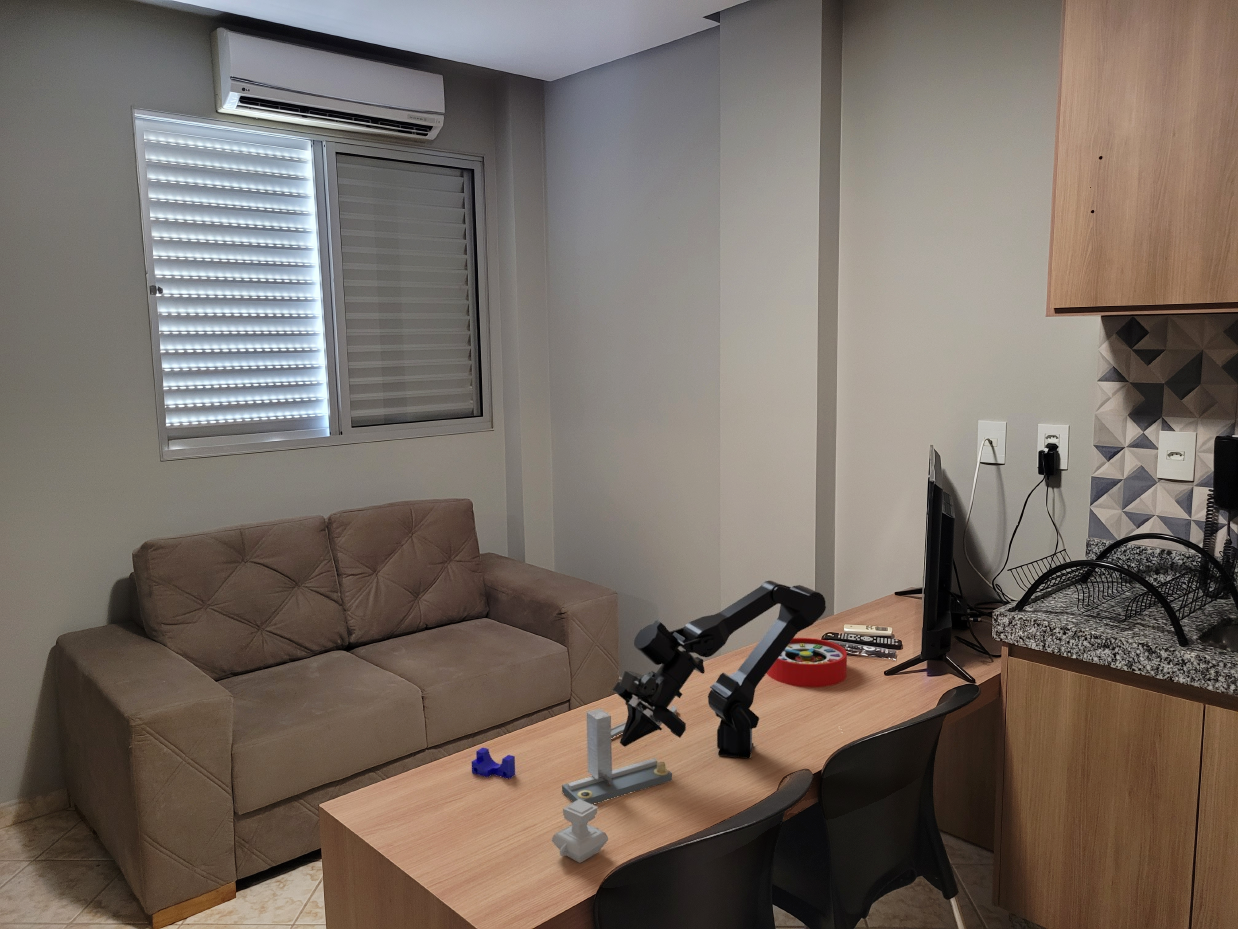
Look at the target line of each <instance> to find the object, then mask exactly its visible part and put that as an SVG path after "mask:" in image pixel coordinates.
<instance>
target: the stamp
mask: <svg viewBox="0 0 1238 929" xmlns="http://www.w3.org/2000/svg"><path fill="white" fill-rule="evenodd" d="M598 809H599V806H598V805H597V806H596V805H595V804H594V805H592V804H590V803H587V802H585V801H583V800H580V799H578V800H576V801H575V802H571V803H570V804H568V805H567V806H565V807H563V808H562V815H563V818H564V820H566V821H567V822H569V823H571V825H568V826H566V827H565V828H562V830H559V831H558V832H555V833H554V834H553V835H552V839H551V842H552V843H553V844H554V845H555V847H556V848H558V850H559V855H560V856H561V857H565V856H567V857H569V858H570V859H572V860H574V861H575V862H577V863H579V864H581V863H583V862H584V861H586V860H587V859H590V858H591V857H593V856H594V855H596V854H598V853H599V852H600V851H601V850H602V848H603V847H604V846H605V845H606V844H607V842H608V841H609V837H608V834H607V833H606V831H605V832H604V831H603V830H600V828H598V827H597V826H593V825H591V824H589V822H591V821H592V820H594V819H595V818H596V816H597V815H598Z"/></svg>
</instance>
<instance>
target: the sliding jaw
mask: <svg viewBox="0 0 1238 929" xmlns="http://www.w3.org/2000/svg"><path fill="white" fill-rule="evenodd" d="M611 728H612V715H611V714H609V713H608V712H606V711H605V710H604V709H602V708H596V709H592V710H588V711H586V743H587V744H586V747H587V748H586V749H587V751H586V752H587V773H588V774H590V776H593V777H594V778H595V779H597V780H598V781H599V780H602V779H604V780H605V781H606V782H607V786H611V784H613V780H612V779H611V778H610V777H612V770H613V758H612V756H613V755H612V753H613V752H612V740H611Z"/></svg>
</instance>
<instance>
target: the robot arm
mask: <svg viewBox="0 0 1238 929" xmlns="http://www.w3.org/2000/svg"><path fill="white" fill-rule="evenodd" d="M825 598H826V597H825V596H824V595H823V594H822V593H821V592H819V591H816V590H814V589H811V588H809V587H806V586H804V585H800V584H797V585H793V586H788V585H786V584H781V583H778V582H775V581H773V580H765V581H764V582H763V583H761V585H760V586H759V587H757V588H755V589H754V590H752V591H750V593H748V594H746V595H745V596H743V597H742V598H740V599H738V600H736V601H735V602H733V603H732V604H730V605H729V606H726V608H724V609H722V610H721V611H719V612H717V613H715V614H710V615H709V614H708V615H705V616H701V617H699V618H697V619H694V620H692V621H689V622H688V623H686V624H685V625H684V626H683V627H681V628H677V629H674V630H671V631H670V630H669V629H667V627H666V625H664V624H663V622H661V621H659V620H658V619H655V621H654V622H653V623H652V624H649V625H647V626H644V627H643V628H642V629H640V630H639V631H638V632H637V634H636V636H635V638H634V640H633V644H634V647H635V648H636V650H638V651H639V652H640V653H641V654H642V655H643V656H645V657H646V658H647V659H648V660H649V661H650V662H652V663H653V664H654V665H656V666H658V665H660V666H659V668H658V669H657V671H654V670H651V671H648V673H647V674H644V675H643V674H641V673H637V672H635V671H631V670H628V669H625V670H624V673H623V675H622V677H621V680H620V681H619V682H617V683H616V684H615V686H614V687H613V688H612V691H613V692H614V693H615V694H616V695H618V696H619V697H620V698H621V699H622V700H624V702H625V703H624V704H625V706H626V708H627V718H626V721H625V722H626V725H625V728H624V731H623V734H622V735H621V736H620V737H621V738H620V740H619V744H620V745H621V746H623V747H624V748H626V747H627V746H629V745H631V744H633V743H635V742H636V741H638V740H640V739H642V738H645V736H647V735H649V734H653V733H654V732H656V731H662V730H663V727H661V726H662V724H663V725H664V726H665V727H667V728H668V730H670V732H671V733H672V734H673V735H675V736H676V737H678V738H679V739H681V738H682V737H683V735H684V733H685V732H686V730H687V725H686V724H687V723H686V722H685V721H684V720H682V719H681V718H680V717H679V716H678V715H677V714H674V713H673V712H672V711H671V710H669V709H670V708H669V706H670V705H671V703H672V702H673V701H674V699H675V698H676V697H677V698H678V699H681V697H682V696H683V693H682V692H681V689H682V688H683V686H684V685H685V683H686V682H687V681H688V679H689V678H690V677H691V675H692V674H693V672H695V671H696V672H698V673H700V674H705V672H706V671H705V666H704V659H703V658H710V657H712V656H714V655H715V654H716V653H717V652H718V651H719V650H721V649H722V648H723V647H724V646H725V645H726V643H727V641H728V640H729V637H730V636H731V635H733V633H735V632H736V631H738V630H739V629H741V628H742V627H744V626H745V625H747V624H749V623H750V622H752V621H753V620H754V619H756V618H758V617H759V616H760V615H763V614H764V613H765V612H767V611H769V610H770V609H772V608H773V607H775V606H776V605H778V604H779V605H780V607H779V612H778V617H777V618H776V620H775V621H774V622H773V624H772V625H771V626H770V628H768V630H767V631H766V633H765V634H763V637H762V638H761V639H760V641H758V643H757V644H756V645H755V647H754V648H753V649H752V651H751V652H750V653H749V655H748V656H747V657H746V659H745V660H744V661H743V663H742V664H741V665H740V667H739V668H737V669H736V671H735V672H733V673H730V674H729V675H728V674H727V673H725V672H722V673H720V674H719V676H718V678H717V679H716V681H715V682H714V683H713V684H711V685H710V686H709V688H710V691H709V693H708V695H707V698H708V699H707V704H708V705H709V706H708V707H710V710H712V711H714V714H715V716H716V717H717V718H719V719H720V722H719V725H718V727H717V729H716V748H717V749H718V752H717V753H718V754H717V755H718V756H721V757H731V758H739V759H740V758H741V759H750V758H751V757H752V753H753V749H754V743H753V729H756V728H757V727H758V723H759V721H760V717H759V716H758V715H757V714H756V713H755V712H754V711H753V710H751V707H752V705H753V703H754V699H755V693H756V688H757V686H758V685H759V683H760V682H761V681H763V680H762V679H763V678H764V677H765V676H766V675H767V672H768V671H769V669H770V668H771V667H772V665H773V664H774V663H775V661H776V660H777V659H778V657H779V656H780V655H781V654H782V652H783V651H784V650H785V648H786V647H787V646H788V644H789V643H790V642H791V640H792V639H793V638H796V637H795V636H796V635H797V634H798V633H799V632H802V631H803V630H805V629H807V628H809V627H811V626H813V625H814V624H815V623H816V622H817V621H818V620H819V619H820V618H821V617H822V616H823V615H824V614H825V612H826V609H827V606H826V599H825ZM679 647H680V648H681V649H682V650H680V649H679ZM693 654H696V655H697V656H696V657H695V656H694V655H693ZM701 657H703V658H701ZM653 707H654V708H653Z"/></svg>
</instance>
